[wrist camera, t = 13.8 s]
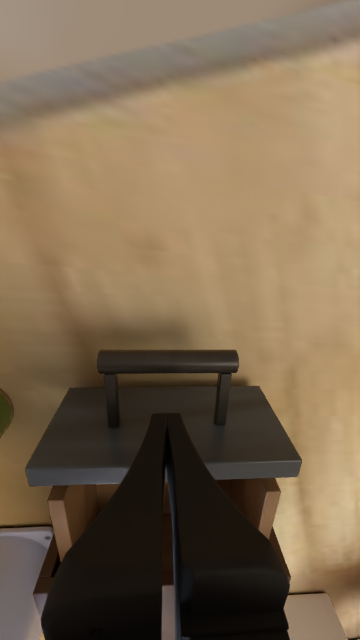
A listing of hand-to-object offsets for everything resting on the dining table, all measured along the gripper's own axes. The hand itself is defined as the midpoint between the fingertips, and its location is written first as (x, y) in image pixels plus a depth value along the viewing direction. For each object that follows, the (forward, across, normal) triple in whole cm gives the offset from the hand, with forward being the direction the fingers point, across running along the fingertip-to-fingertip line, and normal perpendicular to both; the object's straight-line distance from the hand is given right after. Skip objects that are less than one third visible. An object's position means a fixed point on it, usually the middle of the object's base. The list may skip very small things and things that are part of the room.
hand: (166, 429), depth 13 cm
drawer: (+5, 0, +5) cm, 7 cm away
